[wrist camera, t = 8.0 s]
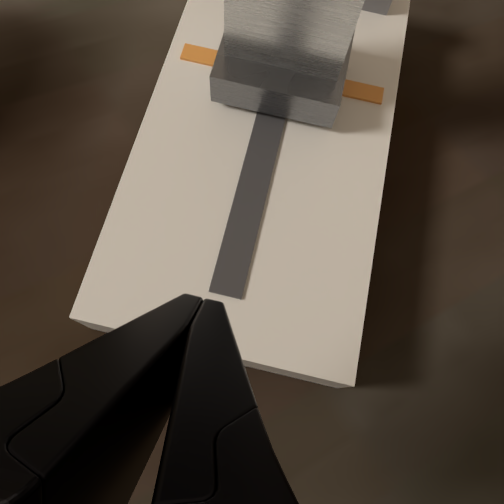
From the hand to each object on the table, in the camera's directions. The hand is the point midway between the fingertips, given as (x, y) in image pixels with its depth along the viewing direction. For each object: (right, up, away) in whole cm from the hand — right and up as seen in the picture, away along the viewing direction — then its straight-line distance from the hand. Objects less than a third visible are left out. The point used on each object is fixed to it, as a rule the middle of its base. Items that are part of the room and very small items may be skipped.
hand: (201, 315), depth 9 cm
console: (+2, +5, +11) cm, 12 cm away
